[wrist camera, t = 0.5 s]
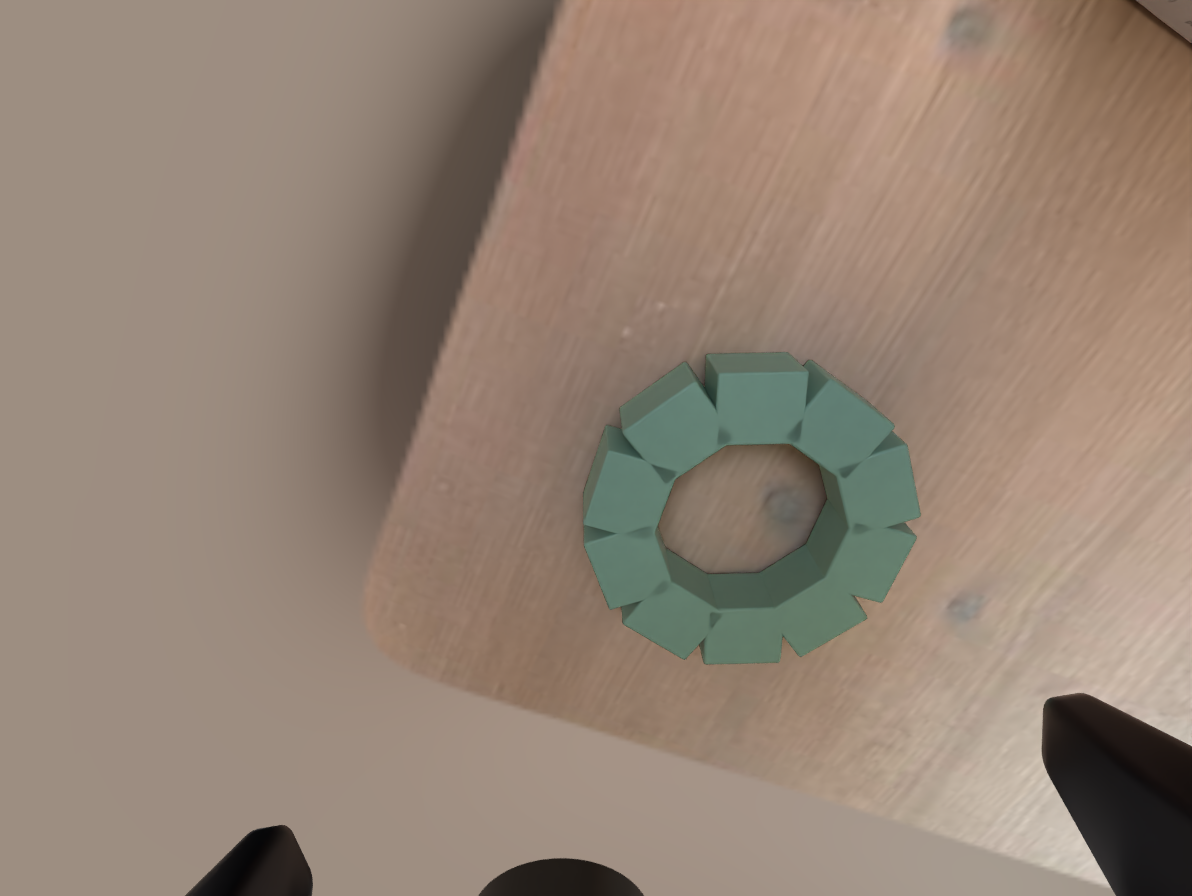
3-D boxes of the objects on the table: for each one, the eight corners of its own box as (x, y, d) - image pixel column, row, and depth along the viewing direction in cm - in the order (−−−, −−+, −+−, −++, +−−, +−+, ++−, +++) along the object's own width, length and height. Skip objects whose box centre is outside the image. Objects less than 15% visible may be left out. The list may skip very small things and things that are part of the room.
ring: (856, 304, 18) (884, 319, 16) (912, 581, 21) (941, 617, 19) (542, 408, 19) (538, 433, 17) (640, 659, 22) (645, 701, 20)
